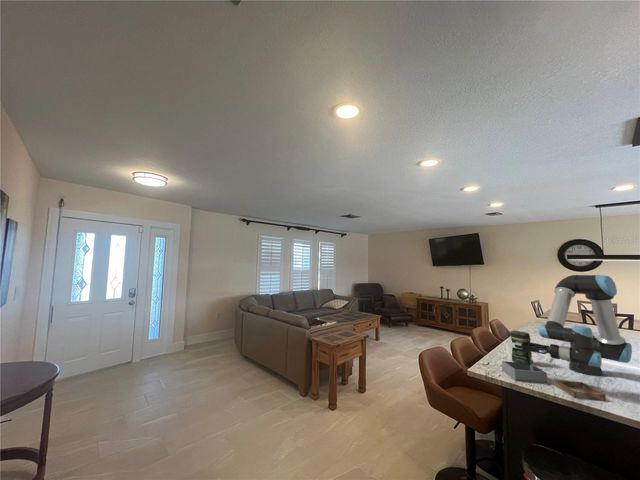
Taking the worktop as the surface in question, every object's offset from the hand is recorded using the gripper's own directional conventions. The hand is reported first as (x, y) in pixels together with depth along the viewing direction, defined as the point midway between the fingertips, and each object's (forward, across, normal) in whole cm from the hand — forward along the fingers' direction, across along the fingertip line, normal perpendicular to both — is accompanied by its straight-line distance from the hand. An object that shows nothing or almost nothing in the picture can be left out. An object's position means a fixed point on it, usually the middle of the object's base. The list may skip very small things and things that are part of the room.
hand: (511, 343), depth 160 cm
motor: (+2, +32, -18) cm, 37 cm away
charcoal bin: (-5, 0, -18) cm, 19 cm away
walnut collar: (-29, -2, -18) cm, 34 cm away
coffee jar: (-5, 0, -11) cm, 12 cm away
